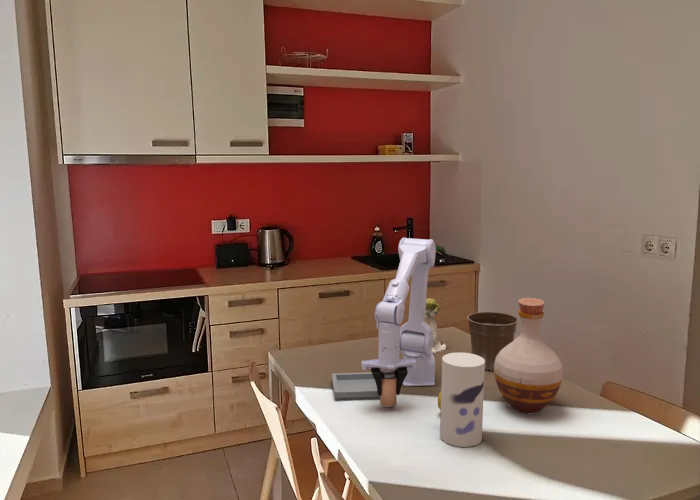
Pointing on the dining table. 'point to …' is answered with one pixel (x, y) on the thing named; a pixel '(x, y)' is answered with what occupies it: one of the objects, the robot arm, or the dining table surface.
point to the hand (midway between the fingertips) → (388, 393)
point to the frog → (433, 323)
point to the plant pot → (491, 334)
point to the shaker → (388, 387)
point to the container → (462, 399)
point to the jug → (528, 364)
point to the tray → (354, 386)
